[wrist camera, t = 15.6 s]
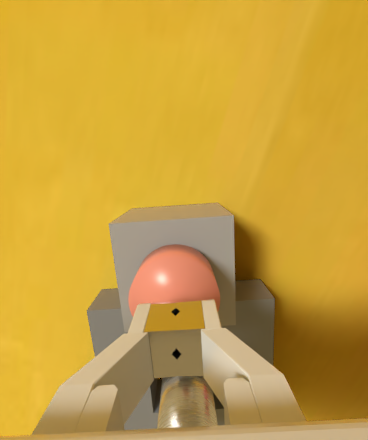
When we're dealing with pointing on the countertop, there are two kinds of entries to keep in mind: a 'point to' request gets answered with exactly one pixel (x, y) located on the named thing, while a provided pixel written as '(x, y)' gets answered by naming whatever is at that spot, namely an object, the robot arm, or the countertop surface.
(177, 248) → the plunger
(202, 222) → the grey stepped block frame
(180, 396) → the cell
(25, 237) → the countertop surface
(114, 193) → the countertop surface
